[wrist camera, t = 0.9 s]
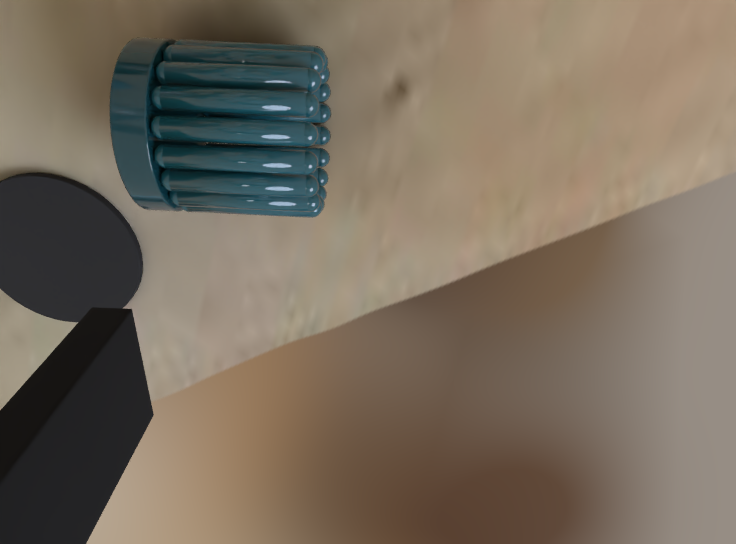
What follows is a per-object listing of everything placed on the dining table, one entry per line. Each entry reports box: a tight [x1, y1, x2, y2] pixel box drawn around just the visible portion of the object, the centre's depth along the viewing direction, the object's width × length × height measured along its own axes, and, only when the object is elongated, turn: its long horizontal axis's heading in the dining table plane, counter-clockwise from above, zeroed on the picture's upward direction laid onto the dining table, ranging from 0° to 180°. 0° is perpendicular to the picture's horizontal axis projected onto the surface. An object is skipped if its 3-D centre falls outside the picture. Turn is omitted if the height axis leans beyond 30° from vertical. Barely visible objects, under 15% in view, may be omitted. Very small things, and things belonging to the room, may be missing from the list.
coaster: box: [0, 173, 143, 322], centre depth 35 cm, size 11×11×1 cm
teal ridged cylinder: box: [110, 37, 331, 217], centre depth 27 cm, size 9×8×8 cm
